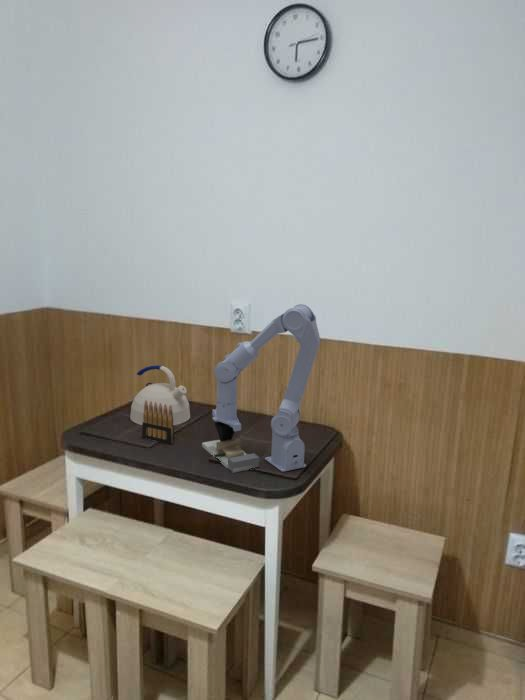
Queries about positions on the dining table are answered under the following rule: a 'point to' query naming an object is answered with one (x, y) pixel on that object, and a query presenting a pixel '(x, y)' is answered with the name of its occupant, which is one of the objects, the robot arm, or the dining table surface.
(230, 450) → the gauge carriage
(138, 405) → the kettle
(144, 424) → the ammunition clip
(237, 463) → the gauge base
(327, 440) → the dining table surface
